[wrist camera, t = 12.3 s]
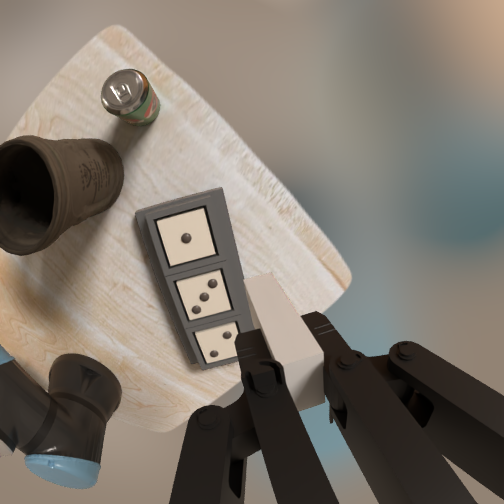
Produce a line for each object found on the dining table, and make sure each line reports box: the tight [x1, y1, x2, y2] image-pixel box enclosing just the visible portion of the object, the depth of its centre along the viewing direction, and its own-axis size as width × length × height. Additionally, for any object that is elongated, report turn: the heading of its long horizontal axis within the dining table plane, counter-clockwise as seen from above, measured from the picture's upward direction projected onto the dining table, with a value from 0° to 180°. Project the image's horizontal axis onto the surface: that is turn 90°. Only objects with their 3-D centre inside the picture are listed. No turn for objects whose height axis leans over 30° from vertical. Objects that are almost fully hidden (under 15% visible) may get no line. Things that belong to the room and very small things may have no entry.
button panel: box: [135, 187, 255, 370], centre depth 40 cm, size 12×26×4 cm, turn 13°
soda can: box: [101, 69, 160, 126], centre depth 27 cm, size 5×5×12 cm
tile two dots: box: [195, 321, 238, 363], centre depth 42 cm, size 6×6×3 cm
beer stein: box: [0, 135, 124, 256], centre depth 25 cm, size 15×11×20 cm
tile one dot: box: [157, 206, 215, 266], centre depth 36 cm, size 6×6×3 cm
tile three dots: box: [177, 268, 231, 320], centre depth 39 cm, size 6×6×3 cm
